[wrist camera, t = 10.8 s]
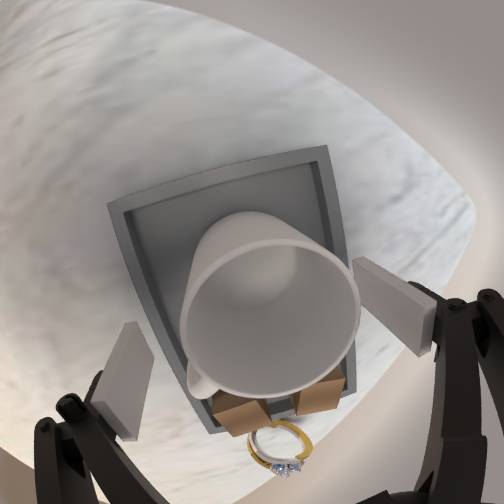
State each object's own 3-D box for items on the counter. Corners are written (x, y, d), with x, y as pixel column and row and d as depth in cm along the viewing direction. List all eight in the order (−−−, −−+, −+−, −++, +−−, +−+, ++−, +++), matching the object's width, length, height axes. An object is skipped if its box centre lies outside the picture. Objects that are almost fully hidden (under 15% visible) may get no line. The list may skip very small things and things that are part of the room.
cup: (319, 249, 22) (390, 301, 12) (234, 357, 23) (247, 448, 14) (235, 187, 20) (256, 195, 10) (151, 311, 21) (119, 396, 12)
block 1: (211, 385, 24) (212, 415, 20) (249, 370, 24) (255, 399, 20) (230, 408, 25) (233, 437, 21) (265, 395, 25) (273, 423, 21)
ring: (240, 422, 27) (249, 478, 19) (251, 405, 26) (263, 464, 19) (292, 429, 29) (309, 479, 21) (305, 414, 28) (326, 465, 20)
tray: (118, 200, 20) (106, 203, 17) (314, 148, 21) (326, 144, 18) (209, 418, 26) (209, 434, 24) (347, 378, 27) (356, 391, 25)
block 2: (290, 358, 24) (302, 385, 20) (329, 353, 25) (345, 377, 21) (286, 388, 25) (296, 415, 22) (323, 383, 26) (336, 408, 22)
